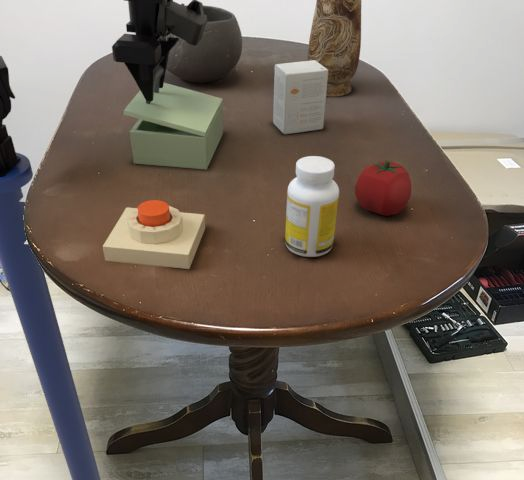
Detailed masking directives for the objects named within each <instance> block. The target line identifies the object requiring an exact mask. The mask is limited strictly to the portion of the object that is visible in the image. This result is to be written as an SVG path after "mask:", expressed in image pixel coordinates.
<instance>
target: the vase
mask: <svg viewBox="0 0 524 480" xmlns="http://www.w3.org/2000/svg"><path fill="white" fill-rule="evenodd" d="M361 46H362V0H316V2H315V8H314V13H313V18H312V24H311V29H310V34H309V38H308V49H307V61H312V60H315V61H317V62H318V63H320V64H321V65H322V66H324V67H325V68H326V69H327V70H328V79H327V90H326V97H341V96H342V97H343V96H345V95H348V94H350V93H351V92H352V86H351V84H350V81H351V80H352V79H353V77H354V76H355V75H356V73H357V71H358V67H359V63H360V57H361Z"/></svg>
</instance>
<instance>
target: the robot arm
mask: <svg viewBox="0 0 524 480" xmlns="http://www.w3.org/2000/svg"><path fill="white" fill-rule="evenodd" d="M123 1H124V2H127V4H128V5H127V6H128V16H129V21H128V22H127V23H126V24H125V27H126V33H124V34H122V35H121V36H120V37H119V38H118V39H117V40H116V41H115V42H114V43H113V44H112V45H111V51H112V59H113V62H116V63H123V64H124V65H125V66H126V69H127V70H128V71H129V73H130V75H131V76H132V78H133V79H134V81H135V84H136V85H137V87H138V88H139V91H140V90H141V92H142V94H143V96H144V98H145V100H146V101H153V98H154V86H155V72H156V67H157V65H160V66H162V67H163V69H164V73H163V75H162V76H161V77H160V87H159V88H163V85H164V83H165V79H166V72H167V69H166V68H167V62H168V56H169V52H170V50H171V49H172V48H173V47H174V45H175V44H176V43H177V42H178V41H179V38H181V39H183V40H185V41H186V42H187V43H188V44H190V45H194V46H196V45H197V44H198V42H199V41H200V40H201V38H202V35H203V32H204V28H205V25H206V24H207V18H206V17H207V15H205V14H204V12H203V3H202V2H201V1H199V0H191V1H190V2H189V3H188V4H187V5H188V6H187V7H186V5H185V3H181V4H180V3H178V2H176V1H174V0H123ZM171 34H173V35H175V36H177V37H171ZM178 37H179V38H178ZM12 99H13V100H15V99H16V95H15V94H14V92H13V89H12V87H11V85H10V74H9V68H8V65H7V64H6V62H5V59H4V57H3V56H2V55H0V177H4V176H5V175H6V174H7V173H8V172H9V171H10V170H11V169H12V168H13V167H14V166H15V165H16V164H17V163H18V162H19V161H20V160H21V159H20V157H19V156H16V153H17V152H16V148H15V146H14V145H15V144H14V141H13V138H12V136H11V135H9V132H8V129H7V125H6V124H4V123H3V121H4V120H5V119H6V118H7V117H8V116H9V114H10V113H11V111H12Z"/></svg>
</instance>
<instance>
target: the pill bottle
mask: <svg viewBox="0 0 524 480" xmlns="http://www.w3.org/2000/svg"><path fill="white" fill-rule="evenodd" d="M335 168H336V166H335V163H334V161H333V160H331V159H329V158H327V157H324V156H321V155H318V156H317V155H308V156H303V157H301V158H299V159H298V160H297V161H296V162H295V176H296V177H294V178H293V179H292V180H290V182H289V184H288V186H287V191H286V193H287V194H286V210H285V211H286V212H285V233H284V234H285V235H284V242H285V246H286V247H287V249H288V250H289V251H290V252H291V253H293V254H295V255H297V256H300V257H305V258H316V257H321V256H324V255H326V254H328V253H329V252H330V251H331V250H332V248H333V246H334V242H335V241H334V240H335V233H336V225H337V216H338V215H337V214H338V206H339V197H340V188H339V185H338V184H337V182H336V181H335V180H334V179H333V178H334V176H335Z"/></svg>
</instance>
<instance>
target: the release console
mask: <svg viewBox="0 0 524 480" xmlns="http://www.w3.org/2000/svg"><path fill="white" fill-rule="evenodd" d="M169 210H170V221H169V222H168V223H167V224H165V225H163V226H157V227H148V226H143V225H142V224H141V223H140V222H139V217H138V207H128V206H127V207H125V209H124V210H123V212H122V214H121V216H120V217H119V219H118V221H117V222H116V224H115V226H114V227H113V229H112V230H111V232H110V233H109V234H108V237H107V238H106V240H105V241H104V243H103V245H102V250H103V256H104V261H106V262H114V263H122V264H123V263H124V264H135V265H143V266H144V265H145V266H154V267H162V268H163V267H164V268H175V269H177V268H178V269H186V270H190V269H191V266H192V264H193V261H194V258H195V256H196V253H197V251H198V249H199V245H200V243H201V240H202V238H203V235H204V233H205V231H206V214H204V213H193V212H182V211H180V210H179V209H178V208H175V207H173V206H171V205H169Z"/></svg>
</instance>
